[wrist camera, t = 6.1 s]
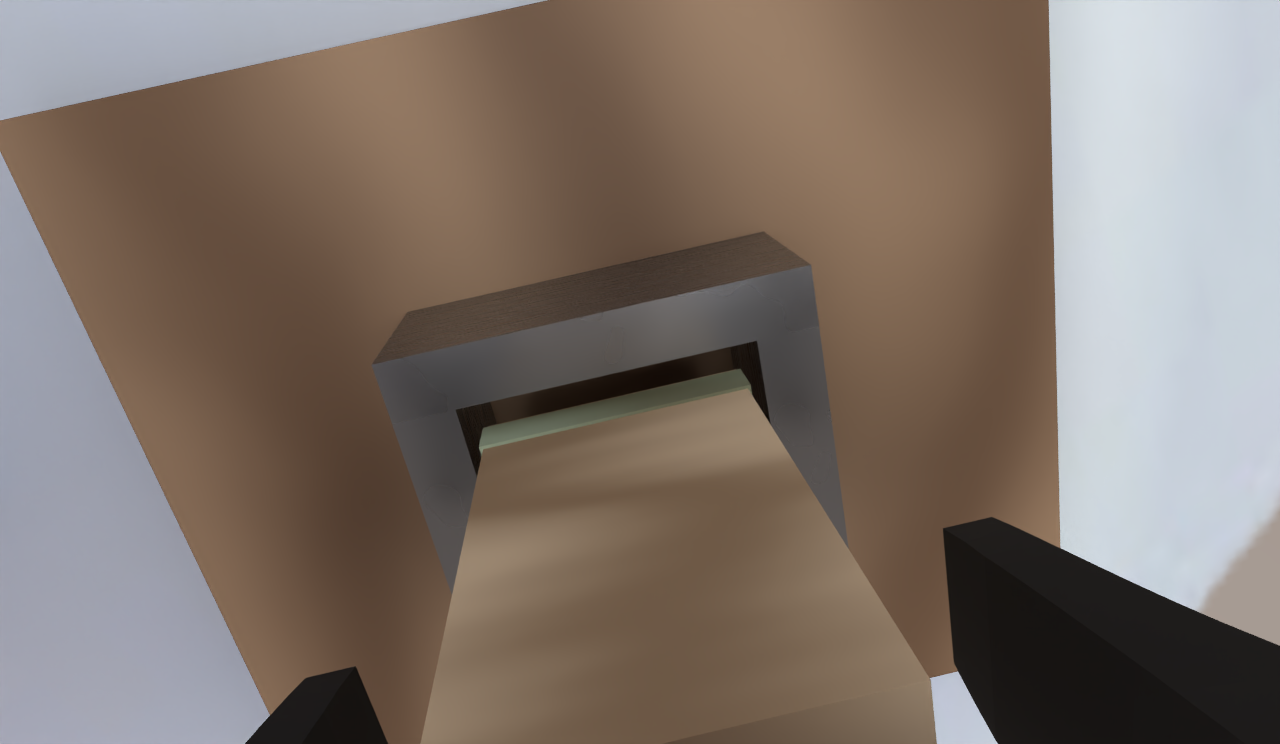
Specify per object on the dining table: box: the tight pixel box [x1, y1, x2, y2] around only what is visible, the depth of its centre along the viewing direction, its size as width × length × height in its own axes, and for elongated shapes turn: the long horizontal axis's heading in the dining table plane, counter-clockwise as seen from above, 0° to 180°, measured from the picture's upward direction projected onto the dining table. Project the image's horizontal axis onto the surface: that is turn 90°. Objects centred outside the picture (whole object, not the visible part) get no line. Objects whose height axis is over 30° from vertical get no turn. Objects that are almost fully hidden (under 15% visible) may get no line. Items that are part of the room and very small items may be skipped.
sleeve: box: [372, 231, 849, 594], centre depth 15 cm, size 7×7×3 cm
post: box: [421, 369, 937, 744], centre depth 10 cm, size 4×4×7 cm
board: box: [0, 0, 1060, 744], centre depth 16 cm, size 18×16×1 cm
